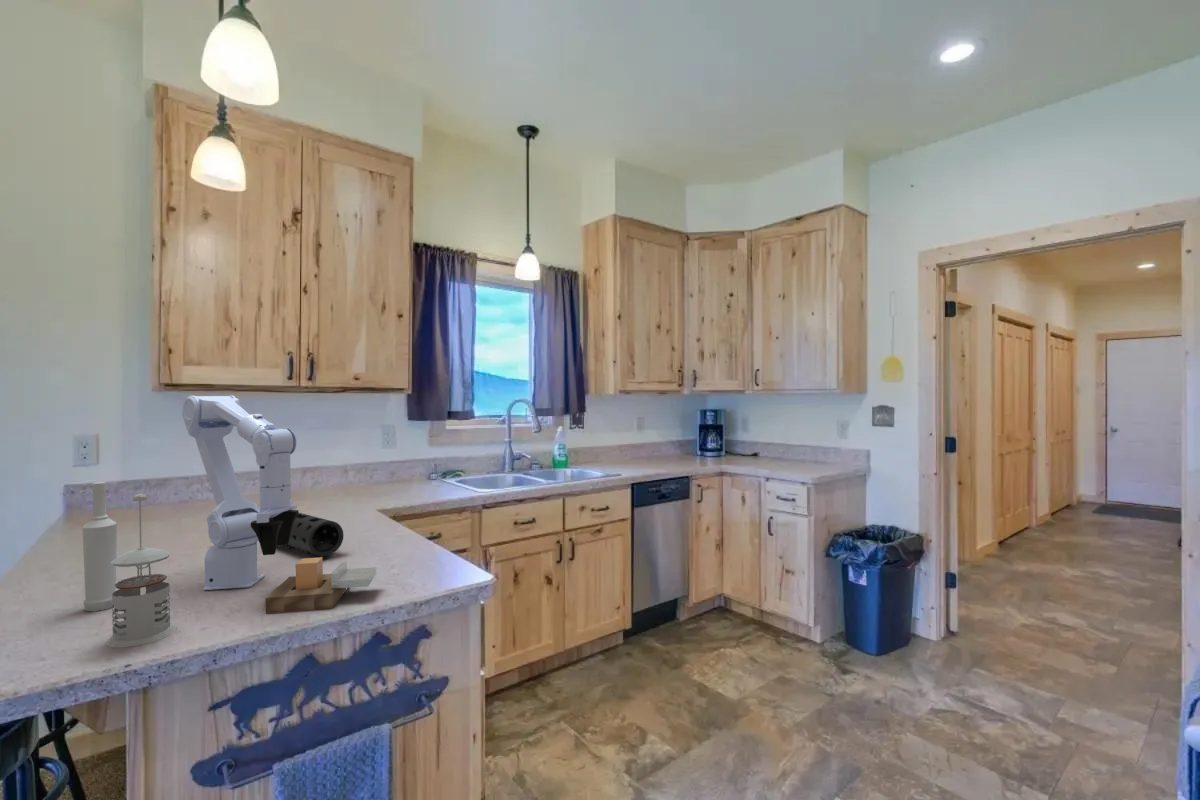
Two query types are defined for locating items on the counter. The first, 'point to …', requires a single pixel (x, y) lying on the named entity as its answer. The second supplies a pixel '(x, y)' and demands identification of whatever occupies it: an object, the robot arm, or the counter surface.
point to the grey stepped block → (351, 576)
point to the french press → (140, 598)
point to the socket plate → (302, 596)
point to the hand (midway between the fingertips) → (276, 549)
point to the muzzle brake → (315, 535)
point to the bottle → (99, 554)
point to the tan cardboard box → (309, 573)
